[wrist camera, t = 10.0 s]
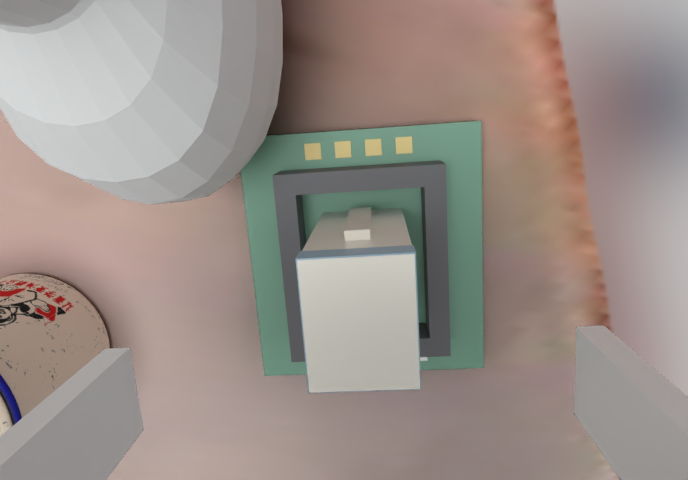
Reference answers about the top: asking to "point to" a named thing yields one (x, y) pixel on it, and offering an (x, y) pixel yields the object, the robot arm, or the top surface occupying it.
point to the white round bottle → (142, 89)
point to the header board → (378, 193)
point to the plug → (360, 303)
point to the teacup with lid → (42, 341)
